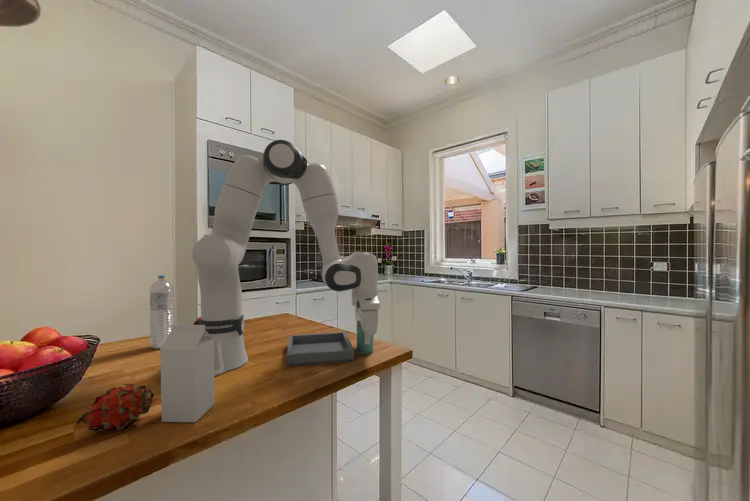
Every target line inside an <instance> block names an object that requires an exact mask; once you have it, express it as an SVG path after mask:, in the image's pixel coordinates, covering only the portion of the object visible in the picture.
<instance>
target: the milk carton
mask: <svg viewBox="0 0 750 501" xmlns="http://www.w3.org/2000/svg"><path fill="white" fill-rule="evenodd" d="M159 350H160V373H161V375H160V391H161V392H160V395H161V396H160V404H161V410H160V411H161V412H160V414H161V416H160V417H161V422H162V423H196V422H197V421H199V419H201V418H202V417H203V416H204V415H205V414H206V413H207V412H208V411H209V410H210V409H211V408H212V407H213V406H214V405H215V404H216V402H215V376H214V338H213V337H212V336H211V335H210V334H209V333H208V332H207V331H206V330H205V325H192V324H174V325H172V330H171V332H170V334H169V335H168V337H167V339H166V340H165V342H164V344H163V345H162V347H161V349H159Z"/></svg>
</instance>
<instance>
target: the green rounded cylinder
mask: <svg viewBox="0 0 750 501" xmlns="http://www.w3.org/2000/svg"><path fill="white" fill-rule="evenodd" d="M356 353H357V354H360V355H368V354H369V355H370V354H372V353H374V334H373V335H371V338H370V344H367V345H366V344H365V343H364V332H363V330H362V329H361V323H360V322H359V320H358V321H356Z"/></svg>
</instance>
